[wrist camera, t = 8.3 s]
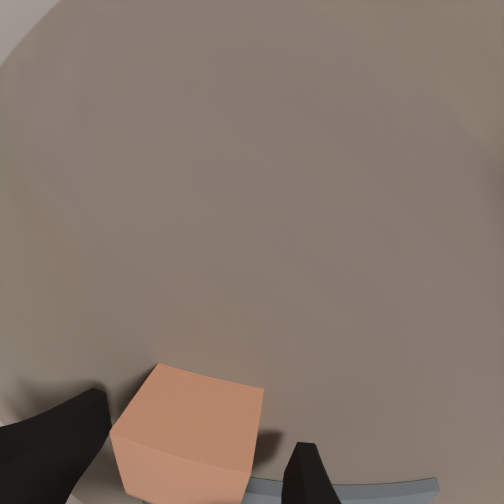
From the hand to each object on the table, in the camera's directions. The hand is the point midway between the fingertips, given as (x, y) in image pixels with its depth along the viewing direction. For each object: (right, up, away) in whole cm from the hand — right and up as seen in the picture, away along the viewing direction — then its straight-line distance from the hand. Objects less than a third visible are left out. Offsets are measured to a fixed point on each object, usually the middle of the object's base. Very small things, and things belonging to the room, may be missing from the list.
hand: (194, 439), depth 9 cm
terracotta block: (0, 0, +2) cm, 2 cm away
